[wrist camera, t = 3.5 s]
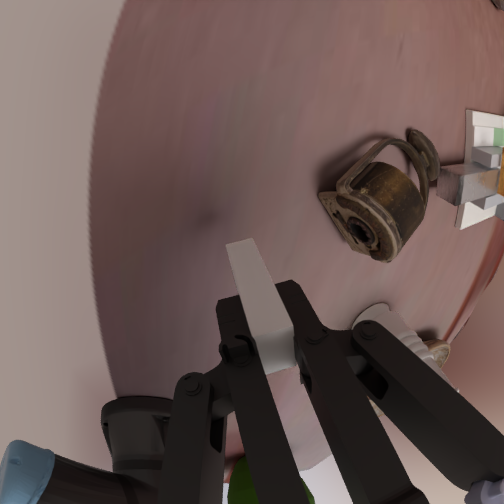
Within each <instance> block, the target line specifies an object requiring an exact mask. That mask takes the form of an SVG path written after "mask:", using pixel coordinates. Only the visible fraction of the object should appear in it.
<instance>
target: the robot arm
mask: <svg viewBox="0 0 504 504" xmlns="http://www.w3.org/2000/svg"><path fill="white" fill-rule="evenodd" d="M226 249H227V253H228V257H229V261H230V265H231V269H232V273H233V277H234V280H235V284H236V288H237V291H238V295H236V296H232V297H229V298H225V299H221V300H218V303H217V306H216V314H217V319H218V324H219V330H220V335H221V340H222V341H221V343H220V345H219V353H220V355H221V357H222V361H221V362H220V364H219V365H218V366H217V367H215V368H214V369H213V370H211V371H209V372H207V373H205V374H202V373H197V372H193V373H188V374H186V375H184V376H182V377H181V378H180V380H179V381H178V382H177V385H176V388H175V393H174V398H173V401H171V400H166V399H161V398H153V397H126V398H120V399H115V400H112V401H110V402H108V403H106V404H105V405H104V406H103V408H102V412H101V425H102V429H103V433H104V436H105V439H106V442H107V445H108V448H109V451H110V454H111V457H112V463H113V472H110V471H106V470H102V469H98V468H95V467H92V466H88V465H85V464H82V463H79V462H76V461H73V460H70V459H67V458H65V457H62V456H59V455H57V454H54V453H53V452H52V451H51V450H49V449H42V448H40V447H37V446H34V445H32V444H29V443H27V442H25V441H22V440H14V441H12V442H11V443H10V444H9V445H8V446H7V448H6V451H5V453H4V456H3V459H2V462H1V465H0V504H222V498H223V479H224V462H225V445H226V429H227V415H228V414H230V413H231V412H233V411H235V414H236V419H237V423H238V427H239V431H240V435H241V439H242V443H243V447H244V451H245V455H246V459H247V462H248V466H249V470H250V474H251V477H252V481H253V484H254V488H255V491H256V495H257V498H258V502H259V504H310V502H309V499H308V496H307V494H306V491H305V488H304V486H303V483H302V480H301V477H300V475H299V472H298V469H297V466H296V463H295V460H294V458H293V455H292V452H291V449H290V446H289V443H288V440H287V438H286V435H285V432H284V429H283V426H282V423H281V420H280V417H279V414H278V411H277V408H276V405H275V402H274V399H273V396H272V393H271V390H270V387H269V384H268V381H267V378H266V374H270V373H273V372H277V371H280V370H283V369H286V368H290V367H293V366H296V361H297V364H298V366H299V368H300V382H301V384H303V383H304V386H305V388H306V391H307V393H308V396H309V398H310V400H311V403H312V405H313V408H314V410H315V413H316V415H317V417H318V420H319V422H320V425H321V427H322V430H323V432H324V434H325V437H326V439H327V442H328V444H329V446H330V449H331V451H332V454H333V456H334V458H335V461H336V463H337V465H338V468H339V471H340V473H341V475H342V478H343V480H344V483H345V485H346V487H347V490H348V492H349V495H350V497H351V499H352V502H353V504H429V502H428V500H427V498H426V496H425V495H424V493H423V492H422V491H421V490H419V489H417V488H416V487H415V486H414V485H413V484H412V483H411V481H410V479H409V477H408V475H407V473H406V471H405V469H404V467H403V465H402V463H401V461H400V459H399V457H398V455H397V453H396V451H395V449H394V447H393V445H392V443H391V441H390V439H389V437H388V435H387V433H386V431H385V429H384V427H383V426H382V424H381V422H380V420H379V418H378V416H377V414H376V412H375V410H374V408H373V406H372V405H371V403H370V401H369V399H368V397H369V398H370V399H371V400H372V401H373V402H374V403H375V404H376V405H377V406H378V408H379V409H380V410H381V411H382V412H383V413H384V414H385V415H386V416H387V417H388V418H389V419H390V420H391V421H392V422H393V423H394V424H395V425H396V426H397V427H398V429H399V430H400V431H401V432H402V433H403V434H404V435H405V436H406V437H407V438H408V439H409V440H410V441H411V442H412V443H413V444H414V445H415V446H416V447H417V448H418V449H419V450H420V451H421V453H422V454H423V455H424V456H425V457H426V458H427V459H428V460H429V461H430V462H431V463H432V464H433V465H434V466H435V467H436V468H437V469H438V470H439V471H440V472H441V473H442V474H443V475H444V476H445V477H446V478H447V479H448V480H449V481H450V482H452V483H453V484H454V485H456V486H457V487H459V488H460V489H463V490H465V491H468V494H467V495H466V496H465V499H464V501H465V503H466V504H504V436H503V435H502V434H501V433H500V432H499V431H498V430H497V429H496V428H495V427H494V426H493V425H492V424H491V423H490V422H489V421H488V420H487V419H486V418H485V417H484V416H483V415H482V414H481V413H480V412H478V410H476V409H475V408H474V407H473V406H472V405H471V404H470V403H469V402H468V401H467V400H466V399H465V398H464V397H462V396H461V395H460V394H459V393H458V392H457V391H456V390H455V389H454V388H453V387H452V386H451V385H449V384H448V383H447V382H446V381H445V380H444V379H443V378H442V377H441V376H439V375H438V374H437V373H436V372H435V371H434V370H433V369H432V368H431V367H429V366H428V365H427V364H426V363H425V362H424V361H423V360H422V359H420V358H419V357H418V356H417V355H416V354H415V353H414V352H412V351H411V350H410V349H409V348H408V347H407V346H406V345H404V344H403V343H402V342H401V341H400V340H399V339H398V338H396V337H395V336H394V335H393V334H392V333H391V332H389V331H388V330H387V329H386V328H385V327H384V326H382V325H381V324H380V323H378V322H376V321H373V320H363V321H360V322H358V323H357V324H356V325H355V326H354V328H353V330H332V329H329V328H327V327H326V326H324V325H323V324H322V323H321V322H320V320H319V318H318V317H317V315H316V313H315V311H314V310H313V308H312V306H311V304H310V303H309V301H308V300H307V297H306V296H305V294H304V292H303V290H302V289H301V287H300V285H299V284H297V283H296V282H294V281H293V280H288V281H284V282H281V283H277V284H274V283H273V281H272V279H271V276H270V274H269V272H268V270H267V268H266V266H265V264H264V261H263V259H262V257H261V255H260V253H259V251H258V249H257V246H256V244H255V242H254V240H253V238H249V239H245V240H241V241H237V242H233V243H230V244H226ZM367 396H368V397H367Z"/></svg>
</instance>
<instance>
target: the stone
mask: <svg viewBox="0 0 504 504" xmlns="http://www.w3.org/2000/svg"><path fill="white" fill-rule="evenodd" d="M492 1H493V3H494V4H495V5H496V6H497V7H498V8H499V9H501V10H503V11H504V0H492Z"/></svg>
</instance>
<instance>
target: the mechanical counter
mask: <svg viewBox="0 0 504 504" xmlns="http://www.w3.org/2000/svg"><path fill="white" fill-rule="evenodd" d="M408 141H409V143H408V142H406V141H404V140H402V139H396V138H390V139H384V140H381V141H380V142H378V143H377V144H375V145H374V146H373V147H372V148H371V149H370V150H369V151H368V152H367V153H366V154H365V155H364V156H363V157H362V158H361V159H360V160H358V161H357V162H356V163H355V164H354V165H353V166H352V167H351V168H350V169H349V170H348V171H347V172H346V173H345V174H344V175H343V176H342V177H341V178H340V179H339V180H338V181H337V184H336V190H337V191H334V192H331V191H327V192H320V193H319V194H318V197H319V199H320V200H321V202H322V204H323V205H324V207H325V208H326V210H327V211H328V213H329V214H330V216H331V218H332V219H333V221H334V222H335V224H336V226H337V227H338V229H339V230H340V232H341V233H342V235H343V236H344V238H345V240H346V241H347V243H348V244H349V246H350V247H351V249H352V250H354V251H356V252H359V253H362V254H366V255H369V256H371V257H372V258H373V259H374V260H378V261H380V262H384V263H389V262H391V261H392V260H393V259H394V258H395V257H396V256H397V255H398V253H399V252H400V251H401V249H402V247H403V246H404V245H405V243H406V242H407V241H408V239H409V238H410V237H411V235H412V234H413V232H414V231H415V230H416V229H417V227H418V226H419V225H420V223H421V222H422V220H423V218H424V215H425V210H426V206H427V202H428V195H429V184H428V179H429V180H431V181H433V180H435V179H437V177H438V176H439V171H440V161H439V157H438V153H437V151H436V149H435V147H434V145H433V143H432V142H431V141H430V140H429V139H428V138H427V137H426V136H425V135H424V134H423V133H422V132H420V131H418V130H412V131H411V132H410V135H409V139H408ZM389 144H391V145H397V146H399V147H400V148H402V149H403V150H404V151H405V152H406V153H407V154H408V155H409V156H410V158H411V159H412V162H413V165H414V168H415V170H416V172H417V174H418V178H419V181H420V192H419V190H418V189H417V187H416V185H415V184H414V183H413V182H412V180H411V179H410V178H409V177H408V176H407V175H406V174H405V173H403V172H402V171H400V170H399V169H397V168H396V167H394V166H392V165H389V164H386V163H384V162H372V163H370V162H371V161H372V160H373V159H374V158H375V157H376V156H377V155H378V154H379V152H380V151H381V150H382V149H384V148H385V147H386V146H387V145H389Z"/></svg>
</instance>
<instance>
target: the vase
mask: <svg viewBox="0 0 504 504" xmlns="http://www.w3.org/2000/svg"><path fill="white" fill-rule="evenodd" d="M301 480H302V483H303V486H304V488H305V491H306V494H307V496H308V499H309V502H310V504H315V501H314V497H313V495H312V494H311V492H310V490H309V489H308V487H307V486H306V484H305V482H304V481H303V479H302V478H301ZM227 498H228V504H259V502H258V498H257V495H256V491H255V488H254V484H253V481H252V477H251V474H250V470H249V466H248V462H247V459H246V456H244V457H242V458H241V459H239V460H238V462H237V463H236V465H235V467H234V469H233V472H232V475H231V477H230V483H229V489H228V496H227Z"/></svg>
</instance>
